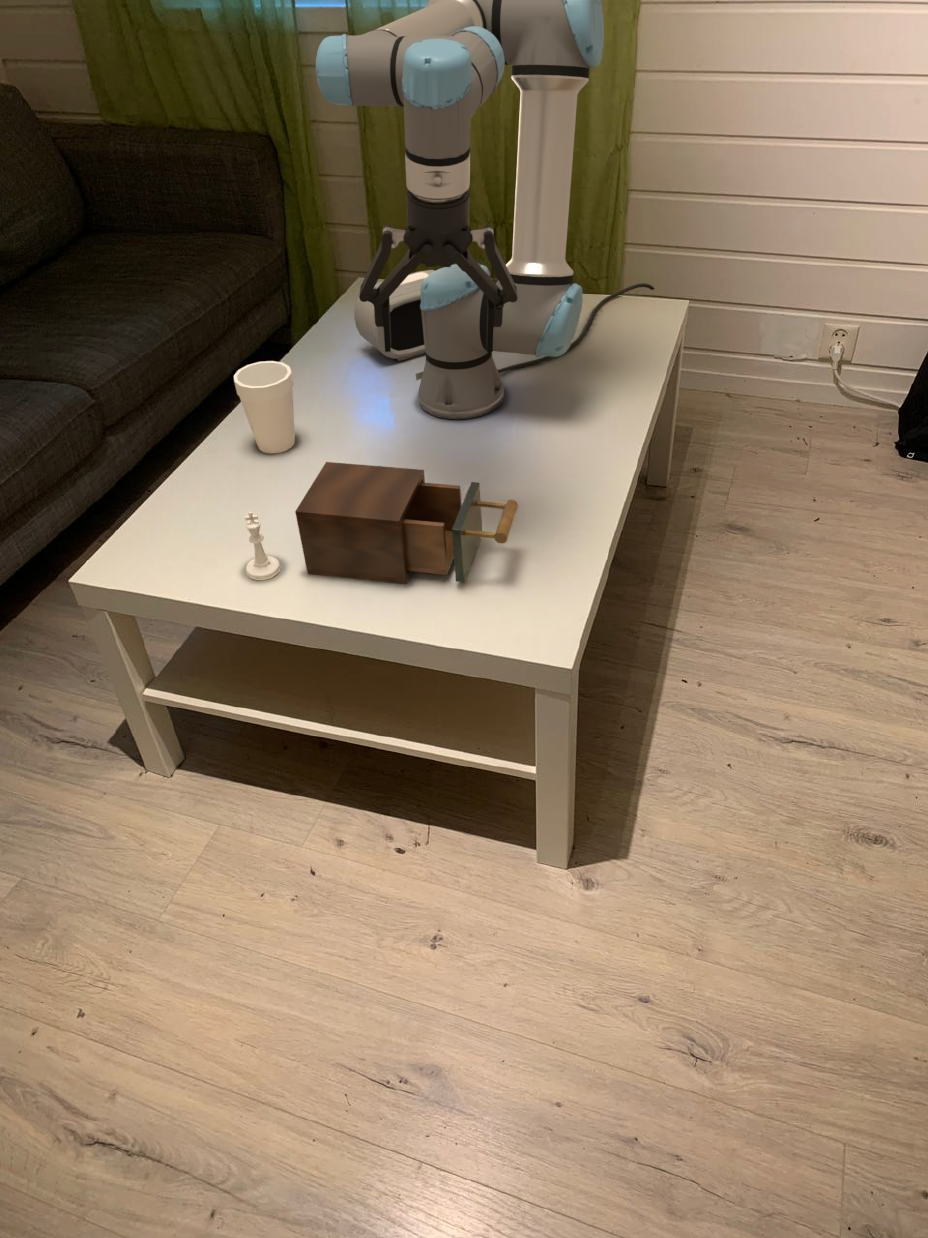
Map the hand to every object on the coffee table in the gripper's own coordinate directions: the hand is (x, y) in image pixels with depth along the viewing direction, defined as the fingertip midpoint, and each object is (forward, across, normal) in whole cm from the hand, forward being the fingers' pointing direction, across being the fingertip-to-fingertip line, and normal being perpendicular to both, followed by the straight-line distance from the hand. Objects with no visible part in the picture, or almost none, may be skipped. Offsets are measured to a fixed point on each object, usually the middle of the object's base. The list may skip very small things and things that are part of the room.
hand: (438, 346), depth 135 cm
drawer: (+25, +1, -14) cm, 29 cm away
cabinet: (+27, -10, -12) cm, 31 cm away
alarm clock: (+35, -5, +55) cm, 65 cm away
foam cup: (+32, -28, +21) cm, 47 cm away
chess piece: (+28, -25, -15) cm, 40 cm away
